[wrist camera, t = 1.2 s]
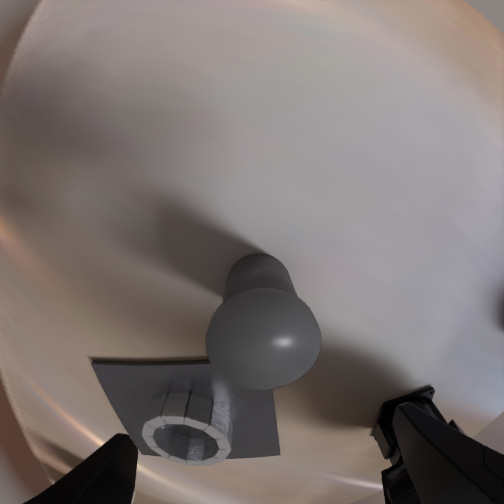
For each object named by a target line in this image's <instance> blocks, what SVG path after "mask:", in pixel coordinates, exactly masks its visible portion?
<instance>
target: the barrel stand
mask: <svg viewBox="0 0 504 504" xmlns="http://www.w3.org/2000/svg"><path fill="white" fill-rule="evenodd" d="M91 365H92V367H93V369H94V371H95V373H96V375H97V377H98V380H99V382H100V384H101V386H102V388H103V390H104V391H105V393H106V395H107V397H108V399H109V401H110V403H111V405H112V406H113V408H114V410H115V412H116V414H117V415H118V417H119V419H120V420H121V422H122V424H123V426H124V427H125V429H126V430H127V432H128V434H129V435H130V437H131V438H132V440H133V442H134V443H135V445H136V446H137V448H138V449H139V451H140V452H141V454H143V455H152V456H162V457H164V458H167V459H168V460H171V461H174V462H177V463H181V464H184V465H186V464H187V465H192V466H206V465H208V466H209V465H212V464H215V463H218V462H221V461H223V460H225V459H235V458H254V457H266V456H276V455H280V446H279V438H278V430H277V422H276V414H275V407H274V399H273V391H272V389H266V390H257V389H249V388H245V387H241V386H238V385H236V384H234V383H232V382H230V381H228V380H227V379H225V378H224V377H222V376H221V375H220V374H219V373H218V372H217V371H216V370H215V369H214V367H213V366H212V364H211V362H210V360H192V361H163V362H124V361H96V360H94V361H93V362H92V363H91Z"/></svg>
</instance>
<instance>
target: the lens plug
mask: <svg viewBox="0 0 504 504" xmlns="http://www.w3.org/2000/svg"><path fill="white" fill-rule="evenodd" d="M320 348H321V332H320V329H319V326H318V324H317V321H316V319H315V317H314V315H313V313H312V311H311V310H310V308H309V307H308V306H307V305H306V303H305V302H303V301H302V300H301V299H300V298H298V296H297V294H296V291H295V289H294V286H293V284H292V281H291V279H290V276H289V274H288V271H287V269H286V268H285V266H284V265H283V264H282V263H281V262H280V261H279V260H277V259H276V258H274V257H272V256H269V255H265V254H253V255H249V256H246V257H244V258H242V259H241V260H239V261H238V262H237V263H236V264H235V265H234V266H233V267H232V269H231V271H230V273H229V276H228V280H227V285H226V289H225V294H224V299H223V303H222V304H221V305H220V306H219V307H218V308H217V310H216V311H215V313H214V314H213V316H212V318H211V321H210V324H209V327H208V331H207V335H206V352H207V355H208V358H209V360H210V362H211V364H212V366H213V367H214V369H215V370H216V371H217V372H218V373H219V374H220V375H221V376H222V377H224V378H225V379H227V380H228V381H230V382H232V383H234V384H236V385H238V386H241V387H245V388H249V389H257V390H266V389H274V388H279V387H282V386H285V385H288V384H290V383H292V382H294V381H296V380H297V379H299V378H300V377H302V376H303V375H304V374H305V373H306V372H307V371H308V370H309V369H310V368H311V367H312V366H313V364H314V363H315V361H316V359H317V357H318V355H319V352H320Z"/></svg>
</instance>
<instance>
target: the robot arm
mask: <svg viewBox="0 0 504 504" xmlns="http://www.w3.org/2000/svg"><path fill="white" fill-rule="evenodd" d="M434 392H435V390H434V388H433V387H430V388H428V389H425V390H422V391H419V392H417V393H414V394H411V395H408V396H405V397H402V398H399V399H396V400H392V401H389V402H386V403H384V404H383V405H382V407H381V412H380V416H379V419H378V421H377V424H376V428H375V432H374V439H375V440H376V441H377V443H378V445H379V447H380V450H381V452H382V455H383V457H384V459H386V460H387V459H390V462H391V464H392V466H391V467H389V468H388V469H385V470H383V471H382V472H381V474H382V484H383V490H384V496H385V504H504V455H503V454H501V453H499V452H497V451H495V450H493V449H491V448H489V447H487V446H485V445H484V446H483V444H481V443H479V442H477V441H475V440H474V439H472V438H470V437H468V436H466V435H465V433H464V432H463V430H462V429H461V428H460V427H459V426H458V425H457V424H456V423H455V422H454V420H453V419H452V420H451V421H450V422H449V424H448V423H447V422H446V420H445V419H444V417H443V416H442V414H441V413H440V411H439V410H438V409H437V407H436V406H435V404H434V403H433V401H432V398H433V395H434ZM137 460H138V449H137V447H136V445H135V444H134V442H133V441H132V439H131V438H130V436H129V435H127V434H121V433H118V434H116V435H114V436H113V437H112V438H111V439H109V440H108V441H107V442H106V443H105V444H103V445H102V446H101V447H100V448H99V449H97V450H96V451H95V452H94V453H92V454H91V455H90V456H89V457H87V458H86V459H85V460H84V461H82V462H81V463H80V464H79V465H77V466H76V467H75V468H74V469H72V470H71V471H70V472H69V473H67V474H66V475H65V476H63V477H62V478H61V479H59V480H58V481H57V482H55V483H54V484H53V485H51V486H50V487H49V488H47V489H46V490H44V491H43V492H42V493H40V494H39V495H37V496H35V497H34V498H32V499H30V500H28V501H27V502H25V503H23V504H131V502H132V498H133V493H134V488H135V480H136V469H137Z"/></svg>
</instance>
